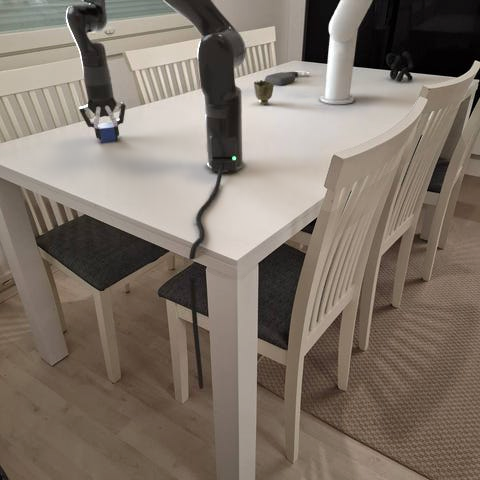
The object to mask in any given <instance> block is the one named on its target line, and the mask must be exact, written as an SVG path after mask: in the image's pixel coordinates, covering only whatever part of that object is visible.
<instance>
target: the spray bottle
mask: <svg viewBox="0 0 480 480" xmlns="http://www.w3.org/2000/svg"><path fill="white" fill-rule="evenodd" d="M307 75H309V76H310V72H309V71H305V70H295V71H285V72H284V71H282V72H275V73H272V74H268V75H266V76H265V78H264V81H265V80H266V83H267V82H268V83H269V81H271V82H272V81H273V83H274V86H284V85H288V84H291V83H293V82H294V81H296V77H298V76H307Z"/></svg>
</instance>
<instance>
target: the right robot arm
mask: <svg viewBox="0 0 480 480" xmlns="http://www.w3.org/2000/svg"><path fill="white" fill-rule="evenodd" d="M373 1H374V0H339V3H338V4H337V7H336V9H335V10H334V13H333V15H332V16H331V19H330V21H329V23H328V33H329V42H328V44H329V45H328V54H327V66H326V77H325V78H326V79H325V91H324V94H323V95H321V96H320V101H321V102H322V103H326V104H330V105H347V104H351V103H353V102H354V99H355V98H354V96H353V95H351V88H352V82H353V81H352V80H353V70H354V62H355V53H356V46H357V39H358V31H359V27H360V26H361V23H362V22H363V20H364V18H365V16H366V14H367V12H368V10H369V8H370V7H371V5H372V3H373Z"/></svg>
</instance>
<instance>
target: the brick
mask: <svg viewBox="0 0 480 480" xmlns="http://www.w3.org/2000/svg"><path fill="white" fill-rule="evenodd" d="M98 126H99V130H100V136H101V140H100V141H101V143H102V144H103V143H112V142H116V141H117V138H116V137H115V131H114V126H113V122H108V123H99V124H98Z"/></svg>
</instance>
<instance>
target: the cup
mask: <svg viewBox="0 0 480 480" xmlns="http://www.w3.org/2000/svg"><path fill="white" fill-rule="evenodd" d="M274 86H275V85H274V83H273V81H272V82H271V81H269V83H268V82H267V83H266V80H265V79H264V80H257V81H254V82H253V87H254V94H255V98H256V99H257V100H258V104H259V105H262V106H264V105H268V104H269V102H270V101H269V100H270V99H272V97H273V93H274Z"/></svg>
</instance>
